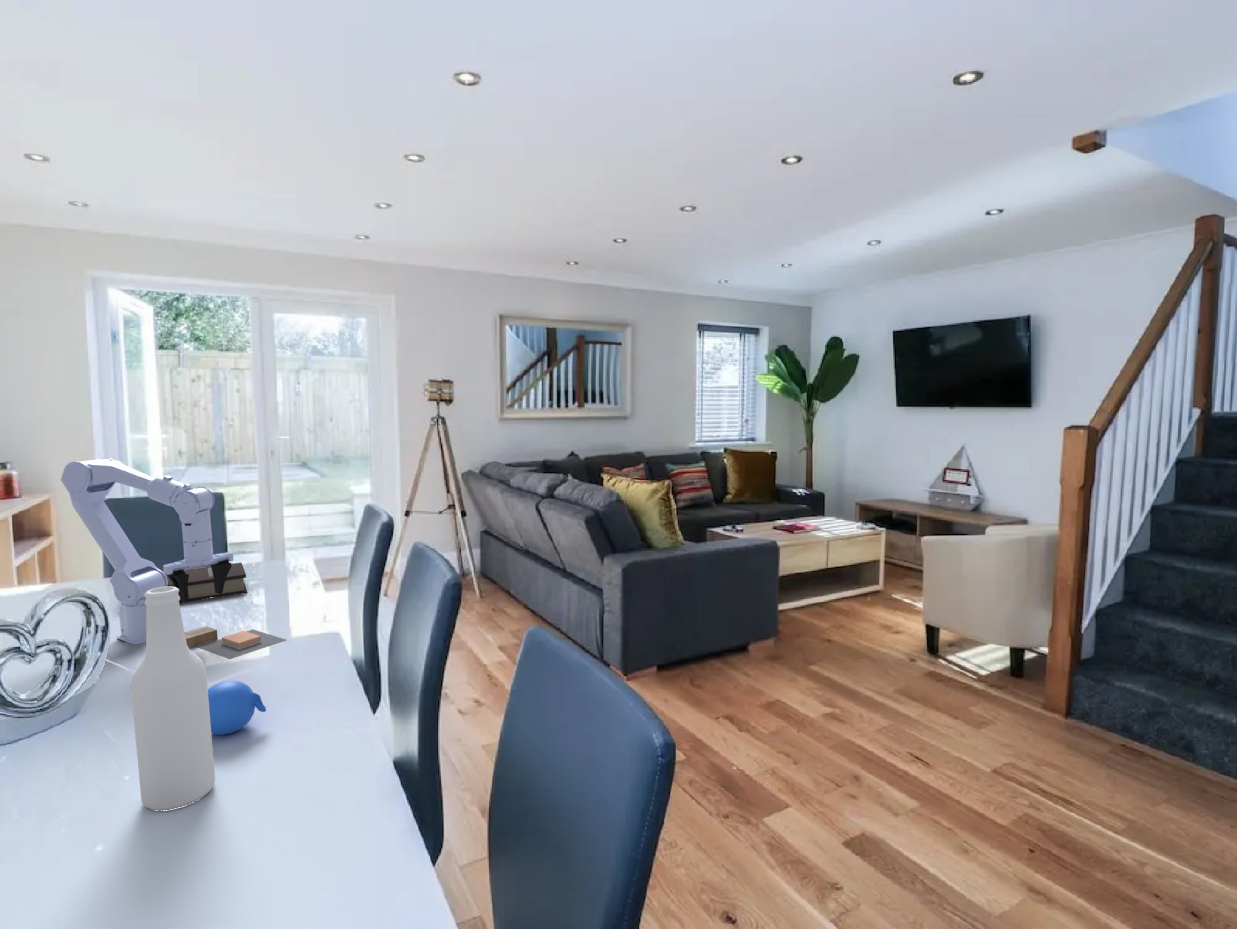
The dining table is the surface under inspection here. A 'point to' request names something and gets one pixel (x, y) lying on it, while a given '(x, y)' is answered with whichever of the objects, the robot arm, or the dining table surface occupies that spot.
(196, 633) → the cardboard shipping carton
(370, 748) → the dining table surface
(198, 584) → the book
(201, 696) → the alcohol
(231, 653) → the mat
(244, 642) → the tile
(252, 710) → the blue rounded blob
